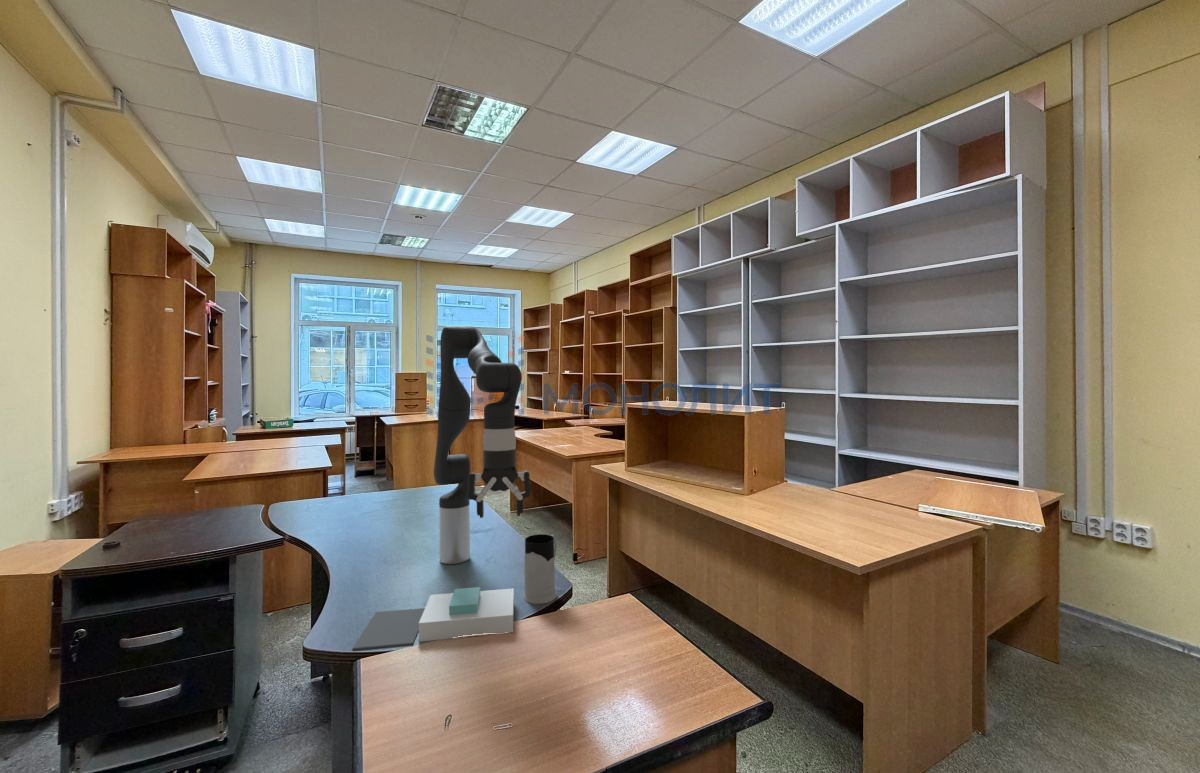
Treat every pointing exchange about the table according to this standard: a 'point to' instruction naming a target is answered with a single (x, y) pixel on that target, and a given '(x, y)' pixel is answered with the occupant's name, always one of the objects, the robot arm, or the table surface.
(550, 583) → the glass holder
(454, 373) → the robot arm
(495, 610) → the plate
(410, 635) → the mat
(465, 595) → the teal rectangular box
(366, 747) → the table surface
